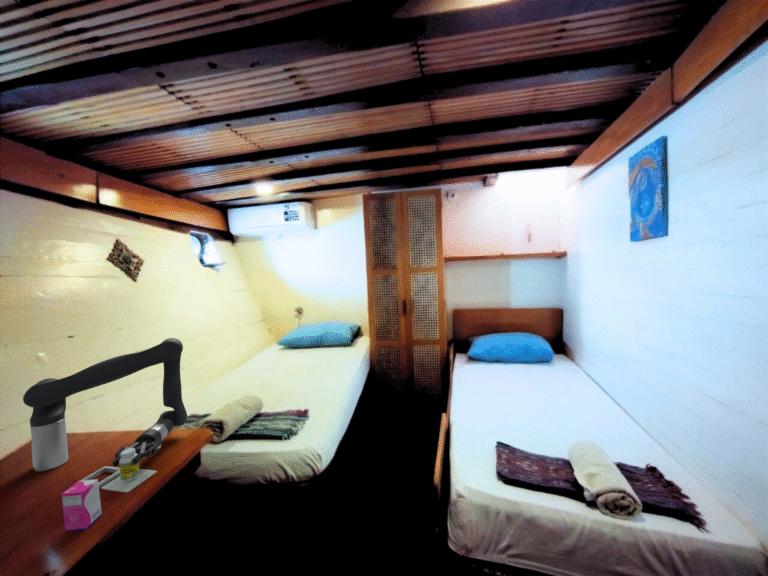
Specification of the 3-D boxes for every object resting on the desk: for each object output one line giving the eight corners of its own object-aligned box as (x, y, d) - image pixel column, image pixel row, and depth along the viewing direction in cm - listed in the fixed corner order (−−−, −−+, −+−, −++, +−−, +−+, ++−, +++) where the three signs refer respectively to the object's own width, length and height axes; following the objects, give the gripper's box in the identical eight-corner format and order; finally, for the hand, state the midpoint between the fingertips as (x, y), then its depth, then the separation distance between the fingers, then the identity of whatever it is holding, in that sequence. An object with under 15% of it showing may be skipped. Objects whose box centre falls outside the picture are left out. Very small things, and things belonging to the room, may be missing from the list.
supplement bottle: (140, 470, 115) (138, 444, 115) (139, 477, 111) (136, 451, 110) (121, 475, 112) (119, 449, 112) (119, 484, 108) (117, 457, 107)
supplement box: (81, 516, 95) (78, 480, 94) (102, 514, 95) (99, 478, 95) (63, 532, 89) (60, 493, 89) (86, 530, 90) (82, 491, 89)
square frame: (78, 485, 109) (77, 481, 109) (105, 469, 118) (105, 465, 118) (98, 488, 107) (98, 484, 107) (125, 472, 116) (124, 468, 116)
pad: (101, 489, 107) (101, 487, 107) (132, 469, 118) (132, 468, 118) (127, 492, 105) (127, 491, 105) (157, 471, 116) (157, 470, 116)
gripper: (131, 430, 124) (99, 455, 107) (171, 426, 126) (145, 450, 109) (133, 448, 124) (101, 476, 108) (172, 444, 127) (147, 471, 110)
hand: (124, 463), depth 109 cm, fingers closed on supplement bottle, 5 cm apart
